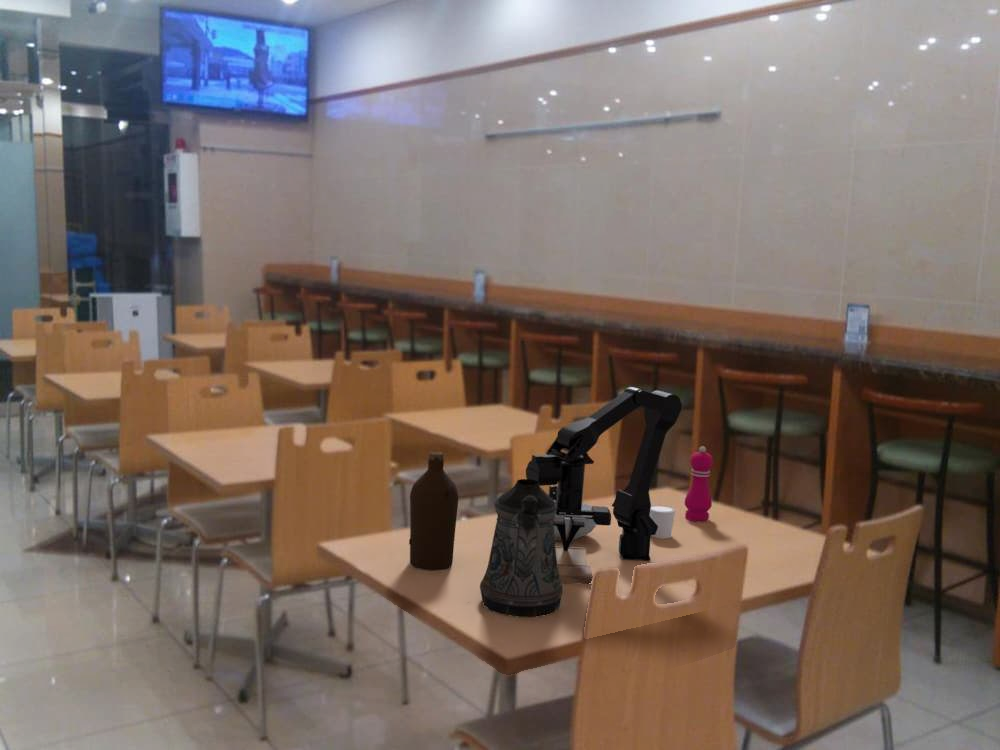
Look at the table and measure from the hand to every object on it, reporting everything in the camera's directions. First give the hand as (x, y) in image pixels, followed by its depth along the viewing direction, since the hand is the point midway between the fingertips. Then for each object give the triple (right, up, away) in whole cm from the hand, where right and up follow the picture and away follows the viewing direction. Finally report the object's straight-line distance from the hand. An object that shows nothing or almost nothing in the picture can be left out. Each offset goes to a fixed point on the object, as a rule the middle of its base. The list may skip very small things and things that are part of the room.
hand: (565, 550), depth 227 cm
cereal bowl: (+1, -1, +23) cm, 23 cm away
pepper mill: (+39, 0, +46) cm, 60 cm away
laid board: (-4, -4, -9) cm, 11 cm away
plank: (-4, -2, -2) cm, 5 cm away
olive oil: (-30, -2, -5) cm, 30 cm away
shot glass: (+26, -1, +28) cm, 38 cm away
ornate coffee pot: (-10, -6, -27) cm, 30 cm away
